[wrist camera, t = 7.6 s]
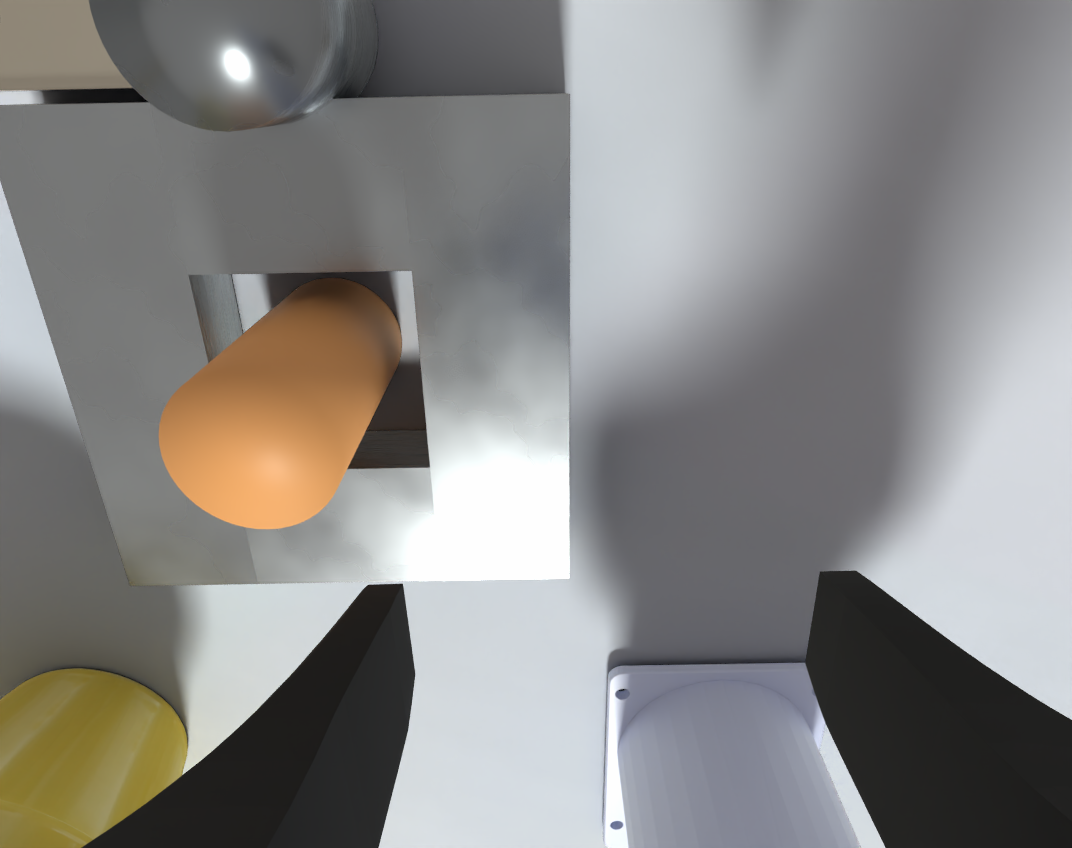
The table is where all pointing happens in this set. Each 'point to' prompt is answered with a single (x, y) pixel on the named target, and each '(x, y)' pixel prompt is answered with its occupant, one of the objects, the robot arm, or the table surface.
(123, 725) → the plant pot
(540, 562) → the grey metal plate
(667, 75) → the table surface
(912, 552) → the table surface
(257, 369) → the orange rounded cylinder
